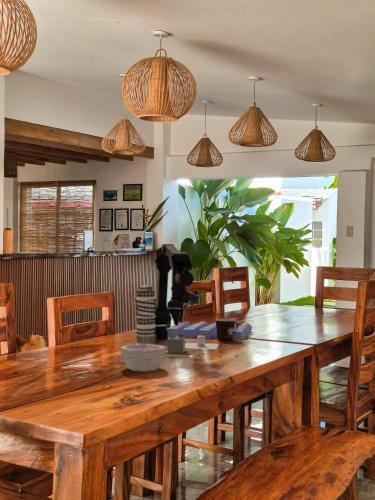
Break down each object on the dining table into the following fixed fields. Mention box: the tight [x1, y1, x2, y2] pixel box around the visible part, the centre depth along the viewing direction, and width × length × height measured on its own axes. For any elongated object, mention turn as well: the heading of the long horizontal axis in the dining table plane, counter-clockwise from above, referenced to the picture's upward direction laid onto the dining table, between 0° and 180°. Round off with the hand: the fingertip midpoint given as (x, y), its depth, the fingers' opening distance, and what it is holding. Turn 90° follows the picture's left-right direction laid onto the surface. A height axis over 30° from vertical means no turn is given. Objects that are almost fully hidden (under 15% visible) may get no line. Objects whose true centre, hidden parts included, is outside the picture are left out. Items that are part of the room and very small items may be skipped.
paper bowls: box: [120, 343, 166, 373], centre depth 225 cm, size 15×15×8 cm
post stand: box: [185, 336, 220, 350], centre depth 269 cm, size 14×14×5 cm
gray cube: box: [167, 336, 186, 354], centre depth 255 cm, size 6×6×6 cm
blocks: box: [167, 320, 253, 341], centre depth 312 cm, size 35×34×5 cm
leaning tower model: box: [134, 285, 158, 345], centre depth 278 cm, size 9×9×25 cm
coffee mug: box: [215, 318, 239, 342], centre depth 287 cm, size 12×9×10 cm
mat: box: [165, 352, 192, 359], centre depth 255 cm, size 11×11×1 cm
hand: (178, 323), depth 257 cm, fingers open, 9 cm apart
